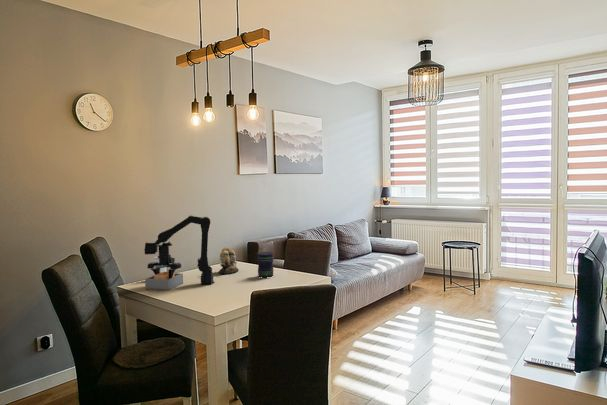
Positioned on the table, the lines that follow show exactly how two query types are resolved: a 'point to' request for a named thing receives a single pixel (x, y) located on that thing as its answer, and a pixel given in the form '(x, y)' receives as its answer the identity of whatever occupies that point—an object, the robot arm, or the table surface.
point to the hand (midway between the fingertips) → (164, 280)
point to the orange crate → (163, 275)
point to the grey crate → (164, 282)
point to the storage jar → (265, 264)
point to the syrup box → (162, 269)
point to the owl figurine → (228, 261)
